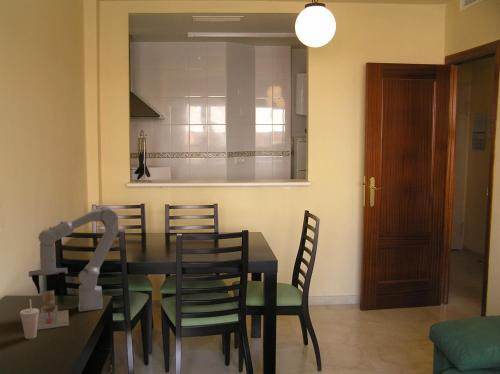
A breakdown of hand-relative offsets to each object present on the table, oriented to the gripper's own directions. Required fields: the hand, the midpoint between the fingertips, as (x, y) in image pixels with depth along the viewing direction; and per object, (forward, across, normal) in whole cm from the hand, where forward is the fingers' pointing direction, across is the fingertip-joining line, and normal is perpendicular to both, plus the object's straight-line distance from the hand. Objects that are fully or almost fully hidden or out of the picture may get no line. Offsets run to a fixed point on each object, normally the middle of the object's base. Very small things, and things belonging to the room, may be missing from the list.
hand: (49, 292), depth 189 cm
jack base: (+9, 0, -9) cm, 13 cm away
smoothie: (+10, -6, -22) cm, 25 cm away
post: (+5, 0, -9) cm, 10 cm away
